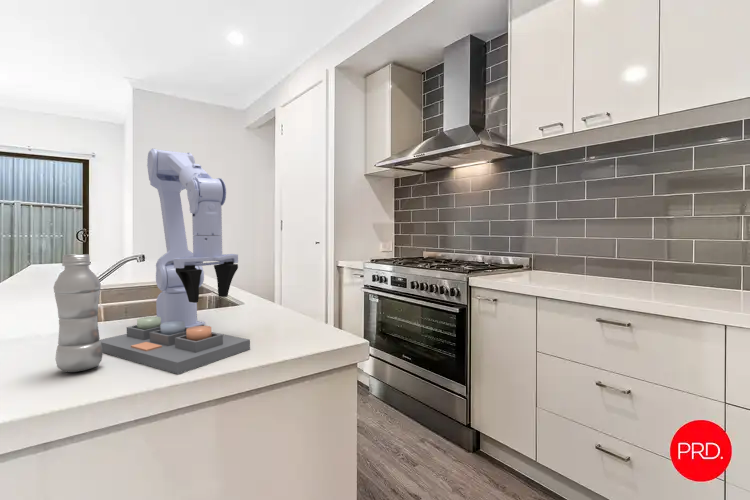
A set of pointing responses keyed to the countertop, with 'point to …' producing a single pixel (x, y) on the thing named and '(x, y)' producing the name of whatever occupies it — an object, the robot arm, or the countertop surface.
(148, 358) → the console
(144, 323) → the button sage
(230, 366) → the countertop surface
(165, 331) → the button slate
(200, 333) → the button terracotta
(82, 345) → the plastic bottle
